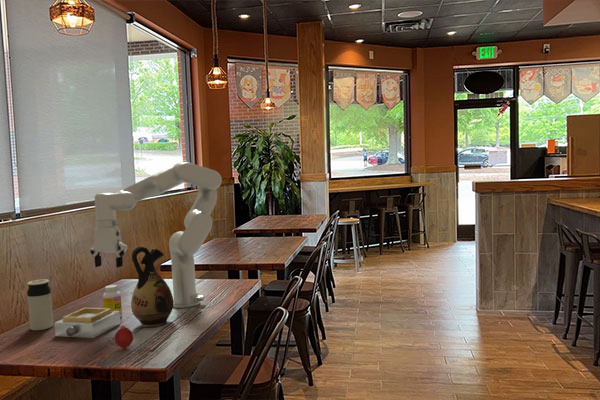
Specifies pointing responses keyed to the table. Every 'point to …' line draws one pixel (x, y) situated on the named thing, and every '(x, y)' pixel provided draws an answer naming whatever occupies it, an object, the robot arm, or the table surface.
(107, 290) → the supplement bottle
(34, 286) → the travel mug
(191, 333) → the table surface
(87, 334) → the white gold-rimmed box
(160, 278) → the ceramic jug
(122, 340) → the onion
